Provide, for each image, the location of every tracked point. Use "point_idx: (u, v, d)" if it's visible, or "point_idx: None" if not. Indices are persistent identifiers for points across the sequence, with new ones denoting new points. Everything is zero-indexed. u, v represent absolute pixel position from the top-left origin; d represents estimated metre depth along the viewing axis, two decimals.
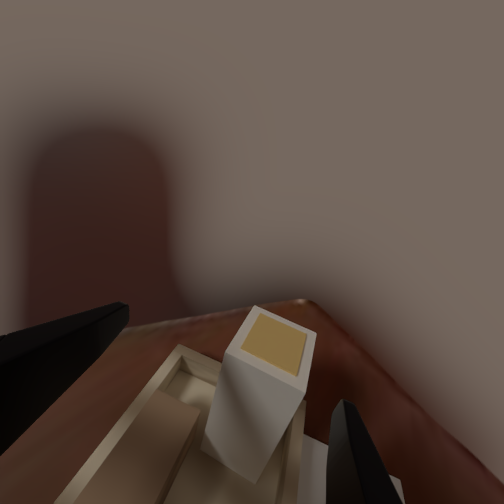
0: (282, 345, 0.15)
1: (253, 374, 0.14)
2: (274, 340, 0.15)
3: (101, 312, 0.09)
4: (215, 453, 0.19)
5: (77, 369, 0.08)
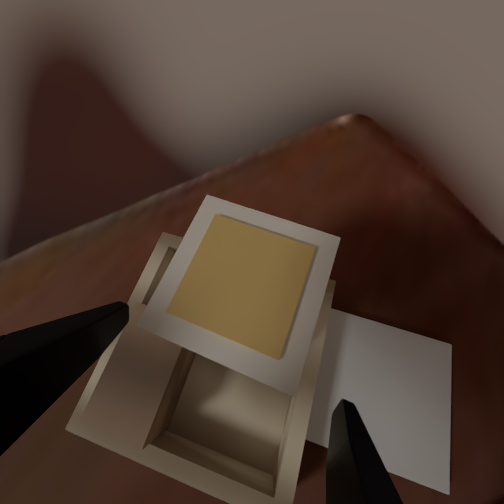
0: (255, 289, 0.07)
1: None
2: (239, 280, 0.07)
3: (101, 312, 0.09)
4: None
5: (77, 369, 0.08)
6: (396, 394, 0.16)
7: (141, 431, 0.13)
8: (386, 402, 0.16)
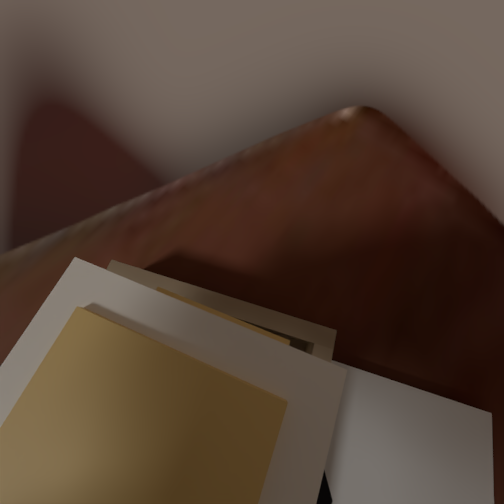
0: None
1: None
2: (96, 500, 0.03)
3: None
4: None
5: None
6: (418, 486, 0.12)
7: None
8: (405, 497, 0.12)
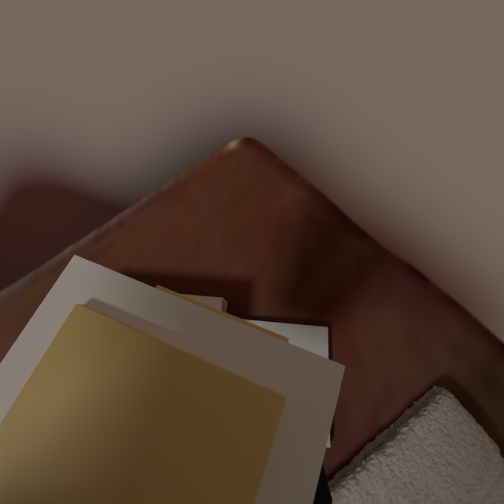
0: None
1: None
2: (95, 494, 0.03)
3: None
4: None
5: None
6: None
7: None
8: None
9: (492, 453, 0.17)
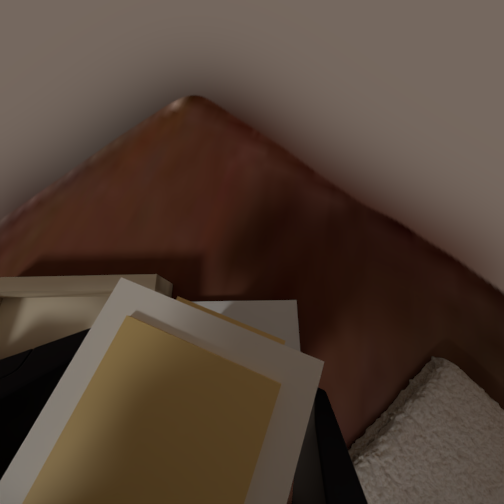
0: (175, 471, 0.04)
1: None
2: (149, 449, 0.04)
3: None
4: None
5: None
6: None
7: None
8: None
9: None
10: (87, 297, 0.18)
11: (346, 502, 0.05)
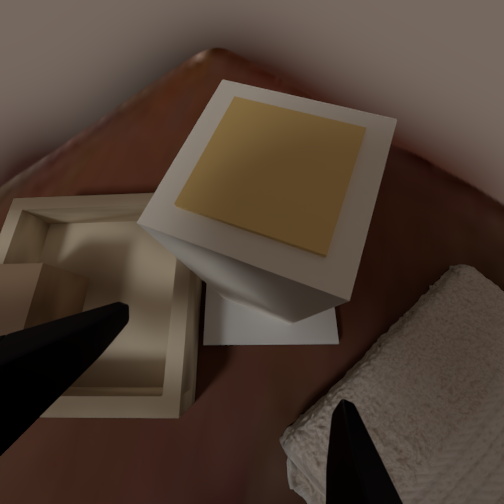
0: (291, 176, 0.06)
1: (219, 259, 0.06)
2: (269, 166, 0.06)
3: (101, 312, 0.09)
4: (238, 303, 0.16)
5: (77, 369, 0.08)
6: None
7: None
8: None
9: None
10: (128, 222, 0.19)
11: None
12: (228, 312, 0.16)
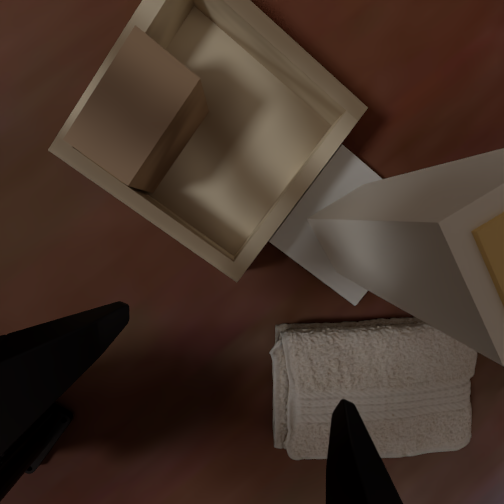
0: None
1: (447, 279, 0.07)
2: None
3: (101, 312, 0.09)
4: (318, 234, 0.18)
5: (77, 369, 0.08)
6: None
7: (129, 170, 0.13)
8: None
9: (470, 372, 0.20)
10: (274, 76, 0.16)
11: None
12: (302, 231, 0.18)
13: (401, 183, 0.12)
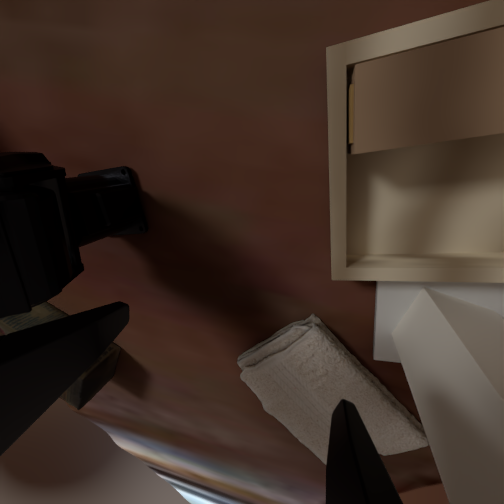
0: None
1: (500, 482, 0.09)
2: None
3: (101, 312, 0.09)
4: (417, 305, 0.18)
5: (77, 369, 0.08)
6: None
7: (369, 143, 0.12)
8: None
9: (386, 453, 0.24)
10: None
11: None
12: (407, 290, 0.18)
13: None
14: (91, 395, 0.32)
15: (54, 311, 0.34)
